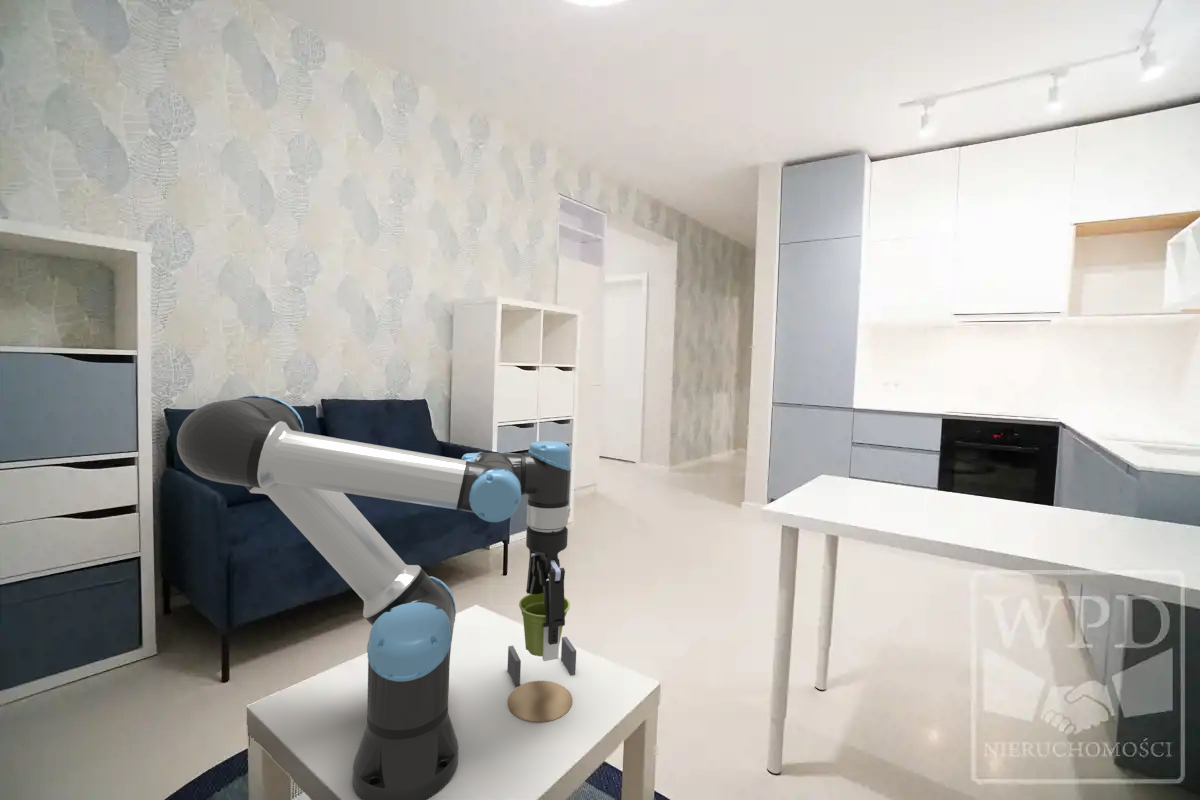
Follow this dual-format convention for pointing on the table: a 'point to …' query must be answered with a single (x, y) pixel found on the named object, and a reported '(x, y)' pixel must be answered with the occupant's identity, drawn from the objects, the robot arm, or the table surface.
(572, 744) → the table surface
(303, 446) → the robot arm
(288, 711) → the table surface
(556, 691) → the coaster
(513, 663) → the twin grey plates
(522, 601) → the plant pot
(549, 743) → the table surface
